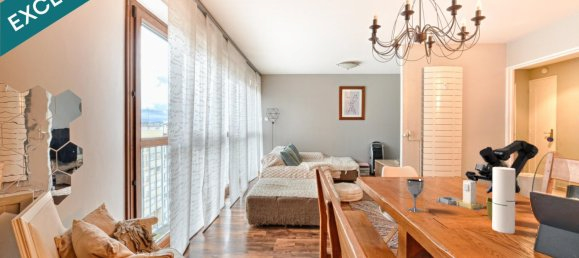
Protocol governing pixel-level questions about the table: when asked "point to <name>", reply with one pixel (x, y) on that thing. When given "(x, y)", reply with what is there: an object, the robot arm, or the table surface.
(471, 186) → the plug
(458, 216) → the table surface
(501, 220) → the cylindrical container
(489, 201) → the flower pot
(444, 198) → the port console
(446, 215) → the table surface
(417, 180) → the wine glass
